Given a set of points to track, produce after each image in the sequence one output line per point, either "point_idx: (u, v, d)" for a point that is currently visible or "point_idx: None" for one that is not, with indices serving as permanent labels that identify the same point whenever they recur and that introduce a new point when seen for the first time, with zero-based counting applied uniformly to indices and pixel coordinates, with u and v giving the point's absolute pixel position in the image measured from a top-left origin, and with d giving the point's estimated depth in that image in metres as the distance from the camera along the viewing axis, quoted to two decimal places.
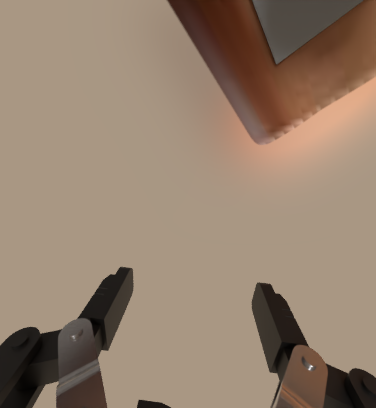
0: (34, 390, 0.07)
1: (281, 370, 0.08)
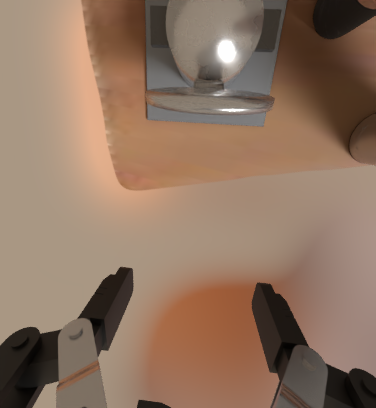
0: (34, 390, 0.07)
1: (281, 370, 0.08)
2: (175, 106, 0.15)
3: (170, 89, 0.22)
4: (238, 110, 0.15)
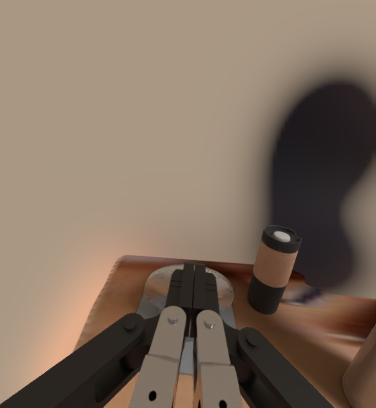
0: (127, 374, 0.08)
1: (194, 332, 0.09)
2: (170, 268, 0.24)
3: None
4: (209, 271, 0.24)
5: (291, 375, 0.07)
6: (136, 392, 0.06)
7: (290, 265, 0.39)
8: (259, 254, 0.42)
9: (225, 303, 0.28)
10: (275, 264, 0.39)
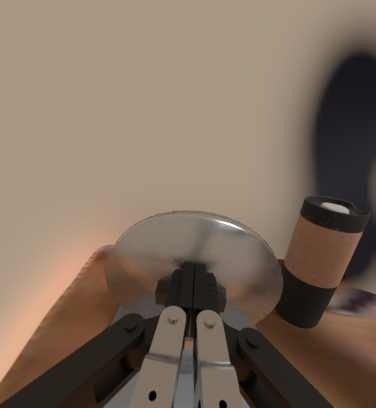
0: (127, 374, 0.08)
1: (194, 332, 0.09)
2: (154, 218, 0.12)
3: None
4: (237, 225, 0.11)
5: (291, 375, 0.07)
6: (136, 392, 0.06)
7: (350, 253, 0.25)
8: (297, 237, 0.28)
9: (261, 307, 0.15)
10: (326, 251, 0.25)
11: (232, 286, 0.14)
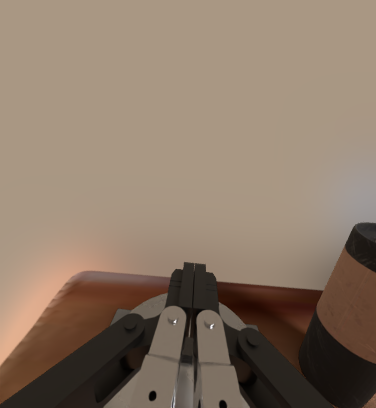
0: (127, 374, 0.08)
1: (194, 333, 0.09)
2: None
3: None
4: None
5: (291, 375, 0.07)
6: (136, 392, 0.06)
7: None
8: (342, 286, 0.19)
9: None
10: None
11: None
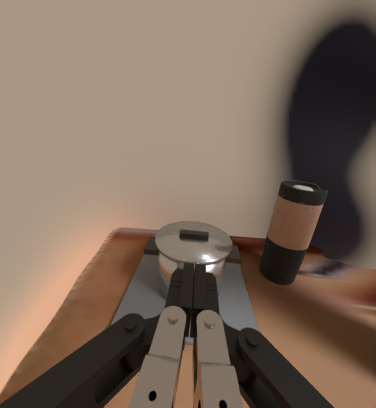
0: (127, 374, 0.08)
1: (194, 333, 0.09)
2: None
3: None
4: None
5: (291, 375, 0.07)
6: (136, 392, 0.06)
7: (313, 221, 0.33)
8: (275, 212, 0.36)
9: (226, 244, 0.31)
10: (295, 220, 0.33)
11: (210, 236, 0.33)
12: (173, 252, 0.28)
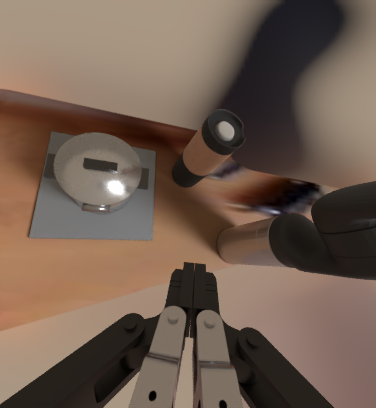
0: (127, 374, 0.08)
1: (194, 332, 0.09)
2: None
3: None
4: None
5: (291, 375, 0.07)
6: (136, 392, 0.06)
7: (220, 162, 0.36)
8: (193, 143, 0.35)
9: (135, 177, 0.33)
10: (205, 160, 0.35)
11: (120, 164, 0.33)
12: (77, 193, 0.29)
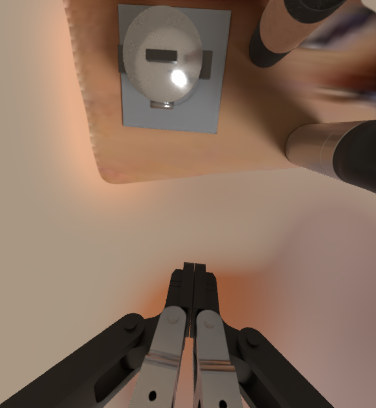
0: (127, 374, 0.08)
1: (194, 333, 0.09)
2: None
3: None
4: None
5: (291, 375, 0.07)
6: (136, 392, 0.06)
7: (307, 33, 0.25)
8: (272, 2, 0.25)
9: (195, 67, 0.31)
10: (284, 33, 0.26)
11: (180, 51, 0.30)
12: (145, 91, 0.33)
